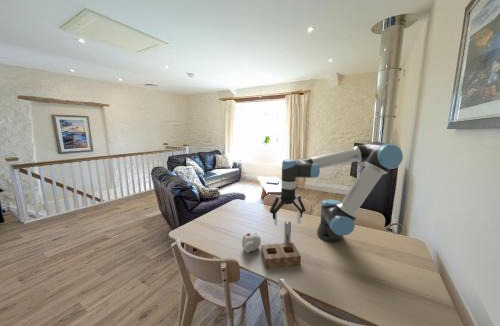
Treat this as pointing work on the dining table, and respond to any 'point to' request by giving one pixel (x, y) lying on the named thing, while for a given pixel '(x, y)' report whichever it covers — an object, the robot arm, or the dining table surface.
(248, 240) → the white lumpy figurine
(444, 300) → the dining table surface
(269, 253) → the bore block
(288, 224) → the pin
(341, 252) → the dining table surface
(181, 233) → the dining table surface
